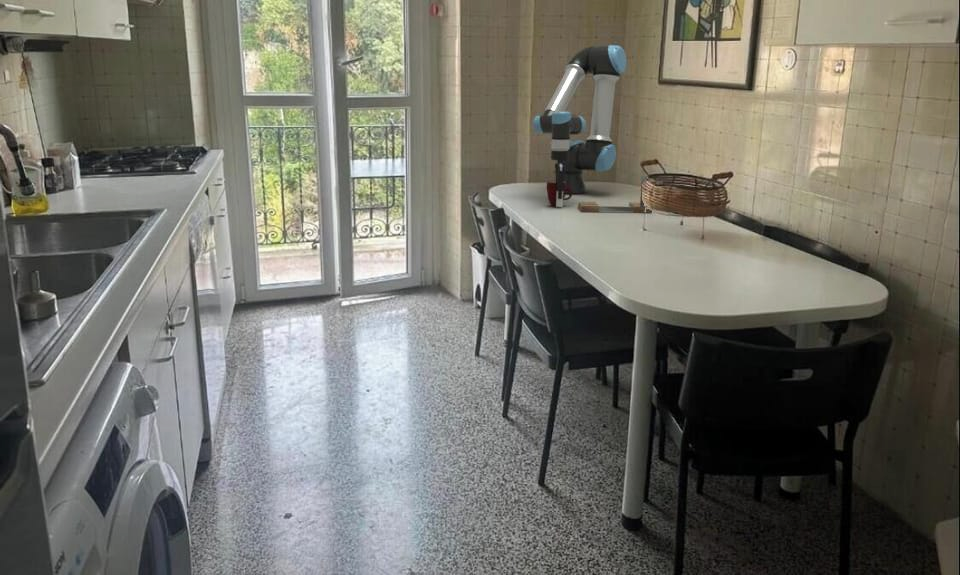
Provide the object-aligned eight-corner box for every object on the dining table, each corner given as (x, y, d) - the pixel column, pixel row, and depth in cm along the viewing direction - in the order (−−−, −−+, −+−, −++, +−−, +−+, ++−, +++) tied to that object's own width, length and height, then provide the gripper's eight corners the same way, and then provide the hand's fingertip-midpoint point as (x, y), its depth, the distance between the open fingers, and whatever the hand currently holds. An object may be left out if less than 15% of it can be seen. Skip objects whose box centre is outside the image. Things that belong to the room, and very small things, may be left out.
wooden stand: (578, 207, 299) (579, 172, 296) (646, 208, 298) (648, 173, 294) (581, 212, 286) (582, 175, 283) (652, 213, 285) (654, 176, 282)
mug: (568, 204, 307) (569, 180, 304) (573, 207, 299) (574, 182, 297) (544, 204, 305) (544, 181, 303) (549, 207, 298) (549, 183, 295)
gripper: (549, 148, 306) (548, 201, 312) (552, 151, 286) (551, 208, 292) (567, 148, 306) (565, 201, 312) (571, 151, 286) (569, 209, 292)
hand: (558, 205), depth 302 cm, fingers closed on mug, 8 cm apart
